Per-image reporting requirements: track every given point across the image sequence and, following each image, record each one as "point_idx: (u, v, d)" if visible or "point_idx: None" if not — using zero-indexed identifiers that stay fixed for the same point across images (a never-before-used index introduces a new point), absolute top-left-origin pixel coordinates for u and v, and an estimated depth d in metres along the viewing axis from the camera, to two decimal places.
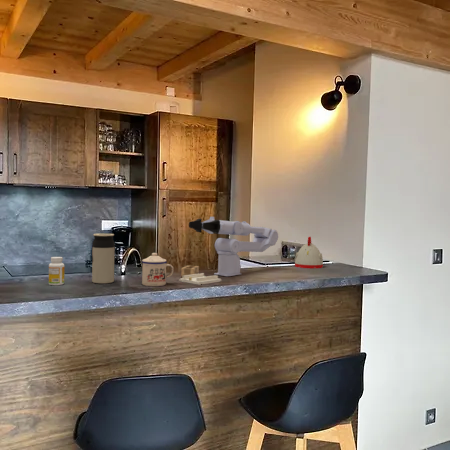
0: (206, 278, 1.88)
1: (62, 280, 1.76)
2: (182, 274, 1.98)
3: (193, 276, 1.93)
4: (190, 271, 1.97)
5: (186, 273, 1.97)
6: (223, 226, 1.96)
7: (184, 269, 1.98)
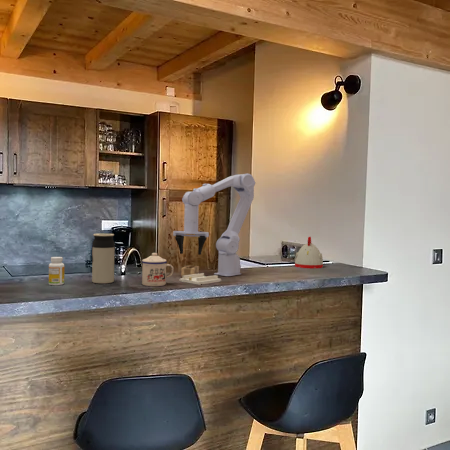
0: (206, 278, 1.88)
1: (62, 280, 1.76)
2: (182, 274, 1.98)
3: (193, 276, 1.93)
4: (190, 271, 1.97)
5: (186, 273, 1.97)
6: (208, 235, 1.99)
7: (184, 269, 1.98)
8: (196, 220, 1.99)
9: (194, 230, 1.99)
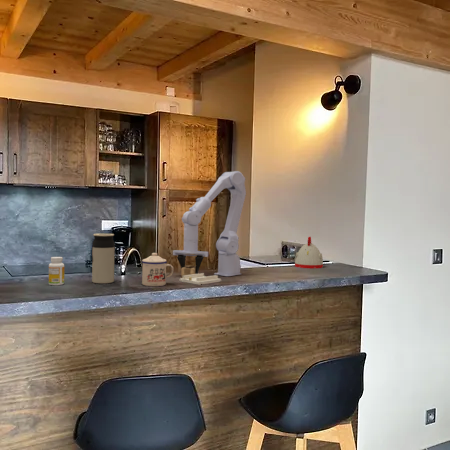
0: (206, 278, 1.88)
1: (62, 280, 1.76)
2: (182, 274, 1.98)
3: (193, 276, 1.93)
4: (190, 271, 1.97)
5: (186, 273, 1.97)
6: (207, 254, 2.00)
7: (184, 269, 1.98)
8: (196, 240, 2.00)
9: (194, 250, 1.99)
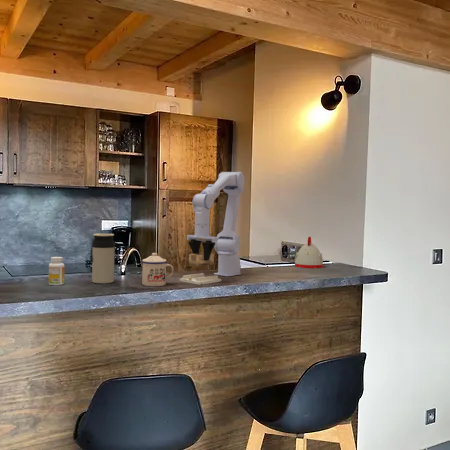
0: (206, 278, 1.88)
1: (62, 280, 1.76)
2: (189, 260, 1.89)
3: (193, 276, 1.93)
4: (195, 257, 1.87)
5: (192, 259, 1.88)
6: (215, 240, 1.86)
7: (191, 255, 1.89)
8: (209, 224, 1.91)
9: (202, 234, 1.88)
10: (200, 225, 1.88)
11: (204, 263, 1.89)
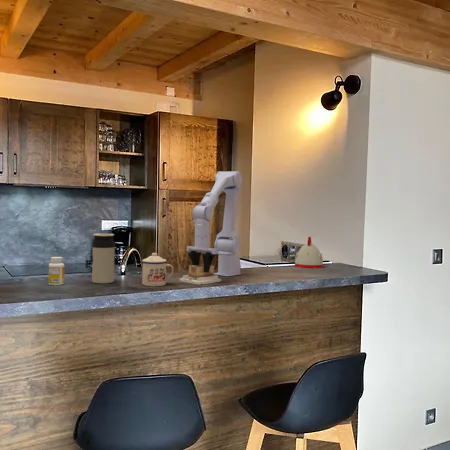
0: (206, 278, 1.88)
1: (62, 280, 1.76)
2: (189, 272, 1.89)
3: None
4: (195, 269, 1.87)
5: (192, 271, 1.88)
6: (215, 252, 1.86)
7: (191, 267, 1.89)
8: None
9: (201, 246, 1.88)
10: (200, 237, 1.88)
11: (204, 275, 1.89)
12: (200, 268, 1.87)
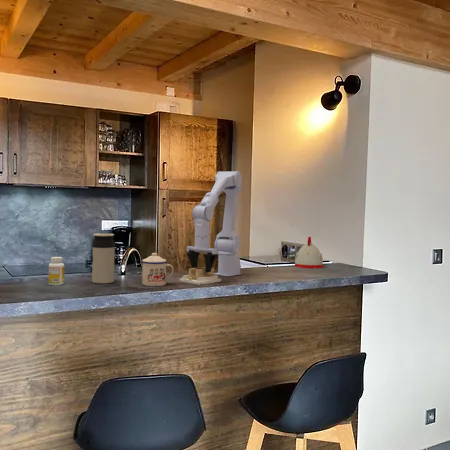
0: (206, 278, 1.88)
1: (62, 280, 1.76)
2: (189, 275, 1.90)
3: None
4: (195, 272, 1.87)
5: (192, 274, 1.88)
6: (215, 252, 1.86)
7: (191, 270, 1.89)
8: None
9: (201, 246, 1.88)
10: (200, 237, 1.88)
11: None
12: (200, 271, 1.87)
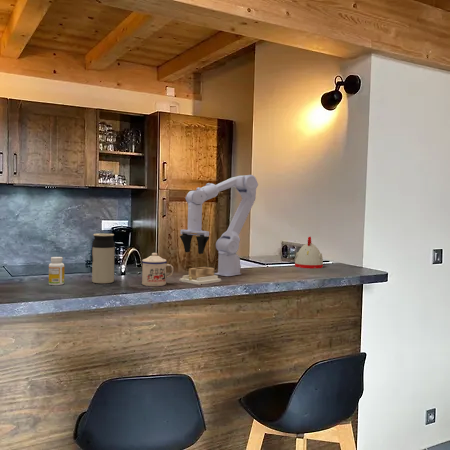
0: (206, 278, 1.88)
1: (62, 280, 1.76)
2: (189, 275, 1.90)
3: None
4: (195, 272, 1.87)
5: (192, 274, 1.88)
6: (206, 234, 1.96)
7: (191, 270, 1.89)
8: (200, 219, 1.99)
9: (194, 229, 1.98)
10: (193, 220, 1.98)
11: None
12: (200, 271, 1.87)
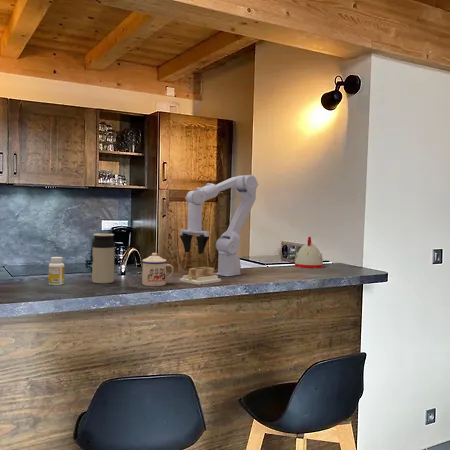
0: (206, 278, 1.88)
1: (62, 280, 1.76)
2: (189, 275, 1.90)
3: None
4: (195, 272, 1.87)
5: (192, 274, 1.88)
6: (206, 234, 1.96)
7: (191, 270, 1.89)
8: (200, 219, 1.99)
9: (194, 229, 1.98)
10: (193, 220, 1.98)
11: None
12: (200, 271, 1.87)
